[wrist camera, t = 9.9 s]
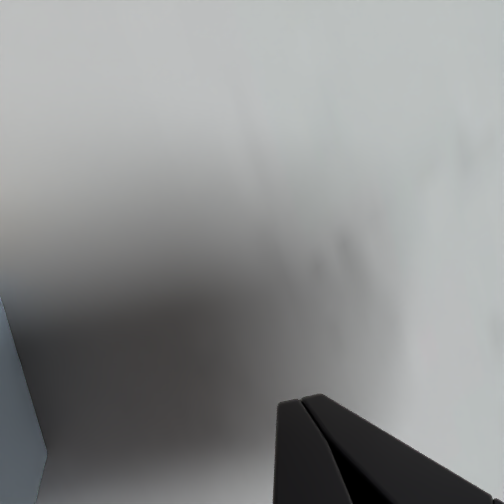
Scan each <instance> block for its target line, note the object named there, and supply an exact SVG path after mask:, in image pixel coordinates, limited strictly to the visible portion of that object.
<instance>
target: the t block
mask: <svg viewBox="0 0 504 504" xmlns="http://www.w3.org/2000/svg"><path fill="white" fill-rule="evenodd" d="M47 455H48V452H47V449H46V446H45V442H44V439H43V436H42V432H41V429H40V426H39V423H38V419H37V416H36V413H35V409H34V406H33V403H32V399H31V396H30V393H29V389H28V386H27V383H26V379H25V376H24V373H23V369H22V366H21V363H20V360H19V356H18V353H17V350H16V346H15V343H14V340H13V336H12V333H11V330H10V326H9V323H8V320H7V316H6V313H5V310H4V306H3V303H2V300H1V297H0V504H35V503H36V499H37V495H38V491H39V487H40V483H41V479H42V475H43V471H44V467H45V463H46V459H47Z"/></svg>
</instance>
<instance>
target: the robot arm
mask: <svg viewBox="0 0 504 504" xmlns="http://www.w3.org/2000/svg"><path fill="white" fill-rule="evenodd" d="M273 504H504V502H502V501H500V500H499V499H497V498H495V499H492V496H491V495H490V494H488V493H487V492H485V491H483V490H482V489H480V488H478V487H477V486H475V485H473V484H472V483H470V482H468V481H467V480H465V479H463V478H462V477H460V476H458V475H457V474H455V473H453V472H452V471H450V470H448V469H447V468H445V467H443V466H442V465H440V464H438V463H437V462H435V461H433V460H432V459H430V458H428V457H427V456H425V455H423V454H422V453H420V452H418V451H417V450H415V449H413V448H412V447H410V446H408V445H407V444H405V443H403V442H402V441H400V440H398V439H397V438H395V437H393V436H392V435H390V434H388V433H387V432H385V431H383V430H382V429H380V428H378V427H377V426H375V425H373V424H372V423H370V422H368V421H367V420H365V419H363V418H362V417H360V416H358V415H357V414H355V413H353V412H352V411H350V410H348V409H347V408H345V407H343V406H342V405H340V404H338V403H337V402H335V401H333V400H332V399H330V398H328V397H327V396H325V395H323V394H315V395H311V396H306V397H303V398H301V400H298V399H293V400H289V401H284V402H280V403H279V404H278V405H277V419H276V441H275V464H274V487H273Z"/></svg>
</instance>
